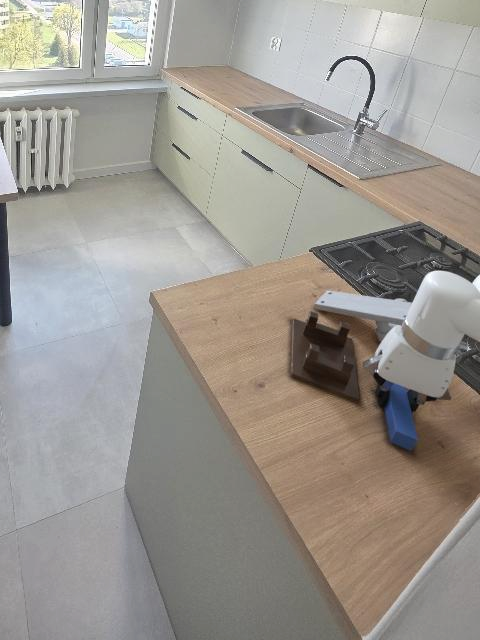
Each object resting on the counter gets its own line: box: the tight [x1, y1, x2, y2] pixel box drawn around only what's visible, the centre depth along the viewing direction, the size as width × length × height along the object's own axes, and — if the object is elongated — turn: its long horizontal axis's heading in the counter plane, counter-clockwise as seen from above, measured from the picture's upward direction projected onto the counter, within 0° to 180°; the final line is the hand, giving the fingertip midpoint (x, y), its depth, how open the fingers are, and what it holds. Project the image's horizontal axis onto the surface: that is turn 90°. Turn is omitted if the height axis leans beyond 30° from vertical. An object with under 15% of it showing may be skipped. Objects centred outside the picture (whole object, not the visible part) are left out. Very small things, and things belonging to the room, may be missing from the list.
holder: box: [290, 310, 361, 403], centre depth 87 cm, size 12×15×7 cm
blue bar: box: [383, 383, 419, 452], centre depth 79 cm, size 3×16×3 cm, turn 155°
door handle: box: [314, 290, 412, 343], centre depth 97 cm, size 18×8×20 cm
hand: (393, 404), depth 79 cm, fingers open, 3 cm apart
